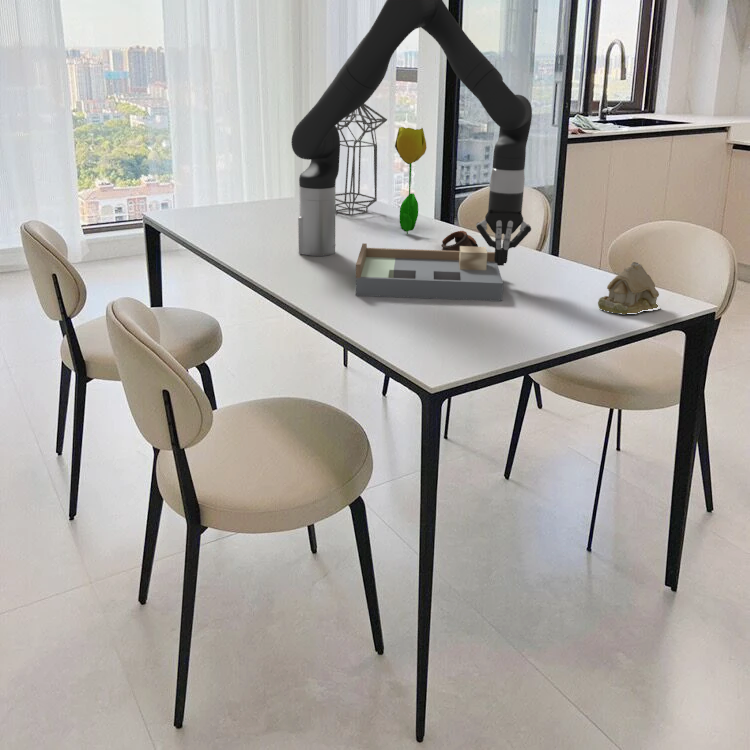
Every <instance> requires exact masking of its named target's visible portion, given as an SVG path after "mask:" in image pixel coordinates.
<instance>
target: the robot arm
mask: <svg viewBox="0 0 750 750" xmlns="http://www.w3.org/2000/svg"><path fill="white" fill-rule="evenodd" d="M420 28H421V29H423V30H424V31H425V32H426V33H427V34H429V36H431V37H432V38H433V39H434V41H436V43H438V45H439V46H440V48H441V49H442V51H443V53H444V54H445V56H446V59H447V60H448V63H449V65H450V67H451V69H452V70H453V72H454V74H455V75H456V77H457V78H458V79H459V80H460V82H461V83H462V84H463V85H464V86H465V87H466V88H467V89H468V91H470V93H472V95H474V96H475V98H477V99H478V101H479V102H480V104H481V106H482V107H483V108H484V110H485V111H486V113H487V114H488V115H489V117H490V118H491V120H492V121H493V122H494V123H495V124H497V126H498V127H499V132H498V139H497V141H496V143H495V145H494V149H493V157H492V168H491V169H492V170H491V173H490V174H491V175H490V183H489V193H488V207H487V212H486V215H485V216H484V217H485V218H484V219H482V221H480V222H477V223H476V224H475V227H476V230H477V231H478V232H479V234H480V235H481V236H482V238H483V239H484V241H485V243H486V244H487V245H488V247H491V248H494V252H495V256H494V260H495V263H497V265H498V266H505V264H507V262H508V256H509V255H508V254H509V249H512V248H513V249H514V248H516V247H517V246H518V245H519V244H520V243H522V241H523V240H524V238H526V237H527V236H528V234H530V232H531V231H532V227H531V226H530V224H529V223H526V221H524V217H523V214H522V210H523V200H524V190H525V167H526V155H527V152H526V151H527V149H526V148H527V143H528V139H529V135H530V128H531V126H532V117H533V109H532V104H531V102H530V100H529V99H528V98H527V97H526V96H524V95H521V94H515V93H514V92H513V91H512V90H511V89H510V88H509V86H508V85H507V84H506V83H505V82H504V78H503V76H502V74H501V73H500V71H499V70H498V69H497V68H496V67H495V66H494V64H493V63H492V62H490V60H489V59H488V58H487V57H486V56H485V55H484V54H483V53H482V52H481V50H480V49H479V48H478V47H477V46H476V45H475V44H474V43H473V41H472V40H471V39H470V37H468V36H467V34H466V32H464V30H463V28H462V27H461V26H460V25H459V23H458V22H457V20H456V19H455V17H454V15H452V13H451V12H450V10H449V9H448V7H447V6H446V4H445V2H444V0H385V2H384V4H383V6H382V8H381V10H380V12H379V14H378V15H377V17H376V19H375V21H374V22H373V25H372V26H371V27H370V29H369V30H368V32H367V33H366V35H365V36H364V37H363V38H362V39H361V41H360V42H359V43H358V45H357V46H356V47H355V49H354V50H353V52H352V53H351V54H350V56H349V57H348V58H347V59H346V61H345V62H344V63H343V65H342V67H341V68H340V69H339V71H338V73H336V75H335V77H334V79H333V81H331V83H330V84H329V85H328V87H327V88H326V90H324V92H323V94H322V95H321V97H320V98H319V100H318V101H317V102H316V104H314V106H313V107H312V108H311V109H310V110H309V111H308V112H307V113H306V115H305V116H304V117H303V118H302V119H301V120H300V121H299V123H298V124H297V125H296V126H295V128H294V130H293V132H292V135H291V149H292V151H293V153H294V154H295V156H296V157H298V158H300V159H301V160H302V159H303V160H310V163H309V166H308V167H307V168H305V170H304V171H302V173H300V175H299V179H298V182H299V183H298V185H299V186H298V187H299V190H298V192H299V197H298V198H299V217H298V218H297V219H298V221H297V223H298V224H297V225H298V229H297V230H298V231H297V232H298V254H299V255H305V256H312V257H323V256H324V257H325V256H331V255H333V254H334V255H335V253H336V212H335V204H336V200H335V198H336V196H335V195H336V194H337V193H336V184H337V183H336V182H337V178H338V175H339V172H340V153H341V152H340V151H341V145H340V144H341V142H340V141H341V138H340V133H339V132H340V131H339V130H338V129H337V123H338V122H339V123H341V122H340V121H341V120H345V118H346V117H347V116H348V115H349V114H350V115H351V114H352V112H354V111H355V112H356V110H357V111H358V108H359V107H360V106H362V105H363V104H366V102H367V101H369V99H370V98H371V97H372V96H373V95H374V93H375V92H376V90H378V88H379V87H380V85H381V83H382V82H383V80H384V78H385V76H386V73H387V72H388V67H389V66H390V61H391V59H392V57H393V55H394V53H395V51H396V50H397V49H398V48H399V47H400V45H401V44H402V43H403V41H405V40H406V38H407V37H408V36H409V35H410V34H411V33H413V32H414V31H415V30H416V29H420ZM360 108H361V107H360ZM487 225H488V226H489V228H490V230H491V231H492V232H493V233H494V237H495V238H494V240H493V239H492V238H491V236H490V235H489V233H488V231H487V229H488V226H487ZM517 229H519V232H518V233H517V234H516V235H515V236H514V237H513V238H512V239H511V237H512V235H513V234H514V233H515V232H516V231H517ZM502 235H503V236H502ZM502 237H503V238H502ZM502 239H503V240H502Z"/></svg>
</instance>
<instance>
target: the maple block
mask: <svg viewBox="0 0 750 750" xmlns="http://www.w3.org/2000/svg"><path fill="white" fill-rule="evenodd" d="M487 252H488V251H487V247H486V246H478V247H472V246H460V253H459V267H460V269H464V270H486V266H487Z"/></svg>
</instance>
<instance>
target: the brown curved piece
mask: <svg viewBox="0 0 750 750" xmlns="http://www.w3.org/2000/svg"><path fill="white" fill-rule="evenodd" d="M453 240H454V242H455V243H453V244H451V245H450V244H449V243H450V242H452V241H453ZM441 243H442V244H441V250H446V251H460V246H472V247H479V244H478V243H477V241H476V239H475V238H474V237H473V236H471V235H469V234H468V233H467V232H466V231H465V230H457V231H454V232H452V233H450V234H448V235H446V237H444V238H443V240H442V241H441ZM447 244H449V245H447Z"/></svg>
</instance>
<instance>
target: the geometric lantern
mask: <svg viewBox="0 0 750 750" xmlns="http://www.w3.org/2000/svg"><path fill="white" fill-rule="evenodd" d="M371 112H372V113H373V114H375V115H377V116H378V117H380V118H376V117H375V116H374V115H373V114H372V113H371ZM363 113H364V114H365V115H363ZM358 116H359V117H361V120H360V119H359V120H357V117H358ZM349 118H350V119H349ZM354 119H355V120H354ZM366 119H367V120H369V122H367V120H366ZM387 121H388V118H387V117H384V116H383V115H381V114H380V113H379V112H377V111H376V110H374V109H373V108H372V107H370V106H368V105H367V104H366V103H364V104H363V105H362V106H360V107H359V108H358V109H357V110H355V111H354V112H352V113H351V114H349V115H348V116H347V117H345V118H344V119H342V120H341V121H340V122H338V123H337V124H336V127H337V129H338V131H339V132H340V134H341V136H342V139H343V140H340V146H342V147H346V148H347V155H346V170H345V184H344V185H345V187H344V188H345V189H344V192H342V193H336V195H335V202H340V203H335V213H336V214H338V213H339V214H342V215H345V216H355V215H363V214H367V213H368V211H369V209H368V208H369V207H370V206H372V205H373V204H374V203H376V202H377V201H378V197H377V196H378V195H377V194H378V193H377V192H378V191H377V189H378V188H377V187H378V186H377V185H378V184H377V183H378V182H377V181H378V179H377V178H378V143H377V135H376V134H377V133H376V130H377V129H378V128H380V127H381V126H382V125H383V124H385V122H387ZM340 123H344V124H340ZM351 123H355V124H356V125H358V127H359V128H360V129H361V131H362V133H361V135H360V136H359V137H358V139H357V138H356V136H354V134H353V132H352V130H351V129H350V127H349V125H350V124H351ZM360 123H362V124H363V126H362V125H361V124H360ZM377 123H378V124H377ZM373 125H374V127H373ZM366 126H367V127H366ZM344 128H348V130H349V132H350V134H351V136H352V137H353V138H354V139H350V140H349V139H346V137H345V134H344V133H343V131H342V130H343V129H344ZM366 133H370V134H371V139H372V142H368V141H362V139H363V138H364V136H365V135H366ZM348 142H353V145H349V143H348ZM341 143H345V144H341ZM357 143H359V144H358V145H357ZM362 143H363V144H368V145H362ZM364 147H366V148H367V147H369V148H370V147H373V172H374V173H373V175H374V179H373V180H374V196H370V195H367V194H363V193H360V192H361V187H360V186H361V159H362V157H361V156H362V155H361V153H362V148H364ZM350 148H352V163H351V176H350V177H351V178H350V185H349V192H348V179H349V178H348V177H349V161H350ZM356 148H358V177H357V178H358V180H357V181H358V182H357V183H358V184H357V192H356V191H355V189H356V187H355V186H356V184H355V183H356V177H355V175H356V174H355V173H356V167H355V166H356V165H355V164H356ZM347 195H348V196H349V201H347ZM351 195H352V196H351ZM336 196H344V200H342V199H339V198H336ZM358 196H361V197H365V198H369V200H360V201H359V200H357V198H358ZM351 197H352V198H351ZM370 199H371V200H370ZM356 200H357V201H356ZM363 203H369V204H363ZM342 205H345V206H342ZM351 205H352V206H351ZM355 205H359V206H360V207H354V206H355ZM361 206H362V207H361ZM337 207H340V208H341V209H337ZM364 209H365V210H364ZM346 210H348V213H347V212H341V211H346ZM354 210H356V211H361V212H357V213H354ZM351 211H352V213H351Z"/></svg>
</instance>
